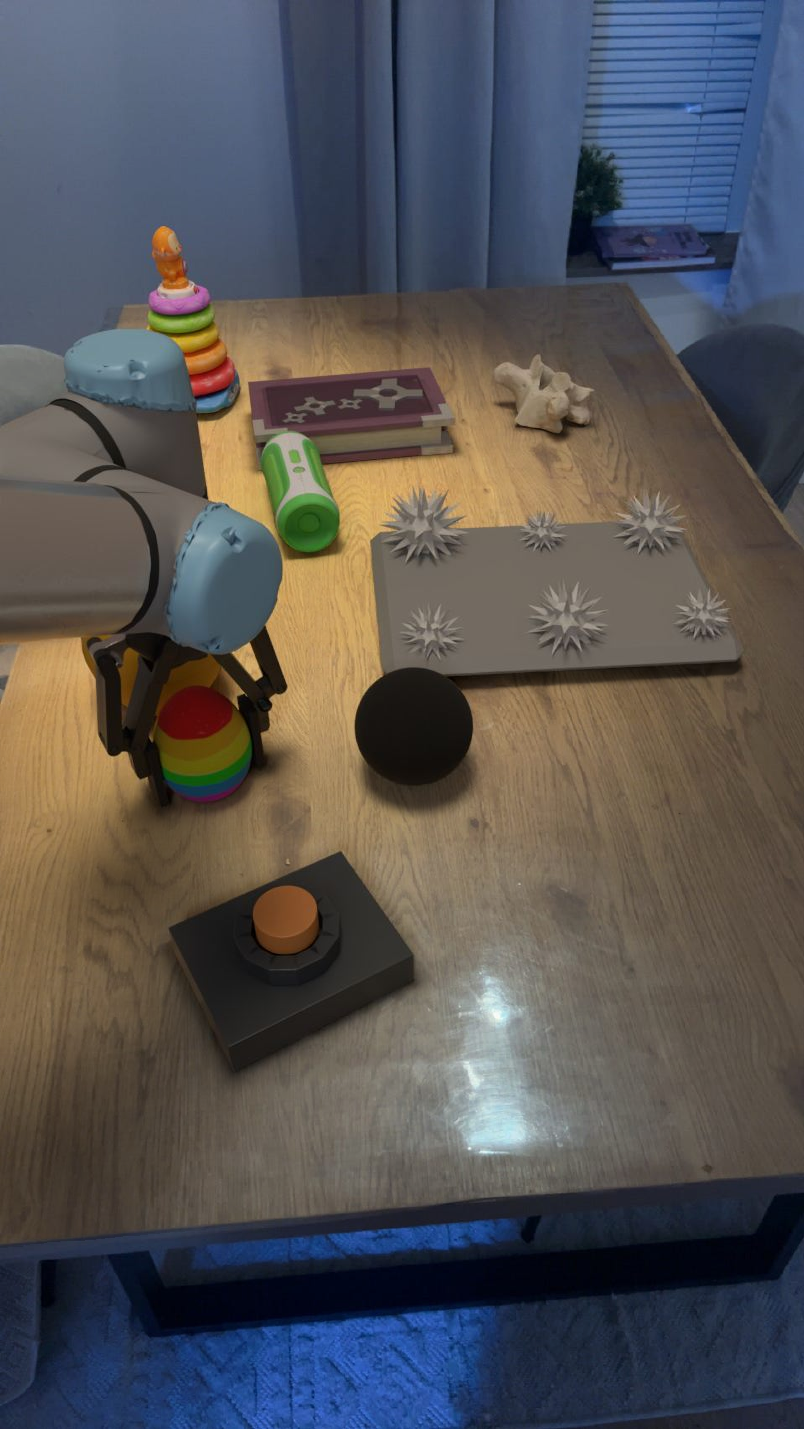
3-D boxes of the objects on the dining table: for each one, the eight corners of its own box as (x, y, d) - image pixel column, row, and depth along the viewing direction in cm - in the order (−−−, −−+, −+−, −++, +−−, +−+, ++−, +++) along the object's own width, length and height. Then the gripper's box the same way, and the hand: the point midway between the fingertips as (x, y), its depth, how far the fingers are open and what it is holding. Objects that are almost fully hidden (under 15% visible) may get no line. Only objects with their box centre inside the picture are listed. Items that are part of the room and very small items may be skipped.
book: (258, 472, 129) (254, 435, 125) (251, 416, 140) (247, 381, 137) (454, 454, 132) (455, 418, 128) (430, 400, 143) (430, 366, 140)
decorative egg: (245, 738, 92) (232, 652, 85) (265, 801, 86) (252, 713, 79) (155, 759, 90) (134, 672, 83) (168, 824, 84) (147, 736, 77)
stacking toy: (226, 423, 139) (202, 244, 123) (135, 419, 140) (100, 241, 124) (247, 381, 149) (227, 211, 133) (162, 378, 150) (133, 209, 134)
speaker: (344, 553, 114) (341, 494, 109) (280, 561, 113) (274, 502, 108) (319, 478, 127) (315, 422, 122) (262, 485, 126) (255, 429, 121)
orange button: (272, 965, 68) (269, 947, 67) (245, 919, 71) (242, 901, 70) (330, 937, 70) (328, 919, 69) (302, 893, 73) (299, 875, 71)
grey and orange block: (234, 1072, 68) (224, 1032, 64) (174, 953, 75) (163, 911, 71) (414, 980, 73) (414, 938, 69) (342, 876, 80) (339, 834, 76)
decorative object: (555, 451, 134) (557, 398, 128) (475, 414, 141) (473, 363, 135) (595, 419, 138) (599, 366, 132) (515, 385, 145) (515, 333, 138)
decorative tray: (383, 694, 96) (380, 608, 90) (369, 546, 115) (366, 467, 109) (744, 673, 98) (768, 588, 91) (671, 532, 117) (687, 453, 110)
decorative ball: (339, 794, 86) (333, 707, 80) (379, 720, 93) (376, 633, 87) (451, 822, 84) (454, 734, 77) (484, 743, 91) (489, 656, 84)
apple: (76, 730, 93) (45, 630, 85) (127, 644, 102) (104, 547, 95) (210, 745, 91) (191, 645, 84) (250, 656, 101) (237, 559, 93)
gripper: (32, 628, 66) (104, 853, 82) (318, 538, 74) (335, 759, 89) (3, 573, 71) (76, 795, 86) (275, 494, 79) (298, 711, 94)
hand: (208, 777), depth 88 cm, fingers closed on decorative egg, 8 cm apart
